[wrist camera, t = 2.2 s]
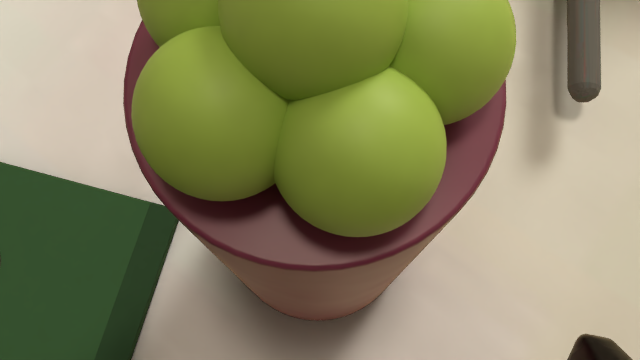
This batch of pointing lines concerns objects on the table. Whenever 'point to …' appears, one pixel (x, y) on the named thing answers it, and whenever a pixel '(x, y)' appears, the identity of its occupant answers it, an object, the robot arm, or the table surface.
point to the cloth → (75, 267)
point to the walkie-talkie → (584, 49)
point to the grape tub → (317, 133)
